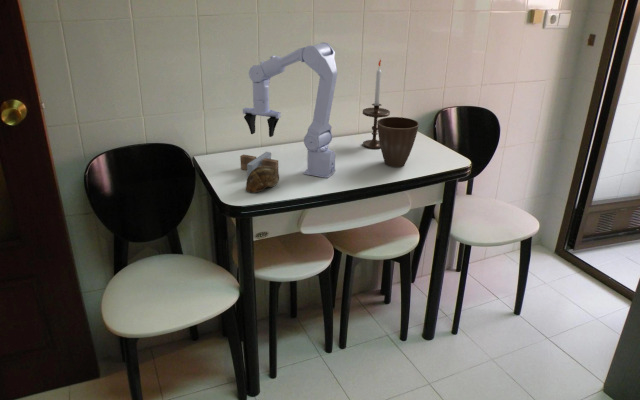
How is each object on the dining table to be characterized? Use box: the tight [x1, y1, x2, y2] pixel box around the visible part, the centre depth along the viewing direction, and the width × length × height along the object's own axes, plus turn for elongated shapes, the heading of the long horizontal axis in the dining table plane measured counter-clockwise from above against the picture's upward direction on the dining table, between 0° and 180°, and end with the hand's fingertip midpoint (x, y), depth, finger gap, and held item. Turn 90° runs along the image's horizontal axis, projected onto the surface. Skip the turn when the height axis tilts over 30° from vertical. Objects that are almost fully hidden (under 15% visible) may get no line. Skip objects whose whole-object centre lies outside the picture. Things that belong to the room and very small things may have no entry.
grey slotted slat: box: [246, 151, 272, 178], centre depth 181 cm, size 14×2×5 cm, turn 158°
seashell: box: [245, 166, 280, 193], centre depth 167 cm, size 11×9×8 cm
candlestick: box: [362, 59, 391, 150], centre depth 203 cm, size 11×11×35 cm
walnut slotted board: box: [239, 154, 280, 175], centre depth 181 cm, size 14×2×5 cm, turn 68°
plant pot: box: [377, 116, 420, 168], centre depth 189 cm, size 15×15×16 cm
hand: (262, 134), depth 190 cm, fingers open, 7 cm apart
